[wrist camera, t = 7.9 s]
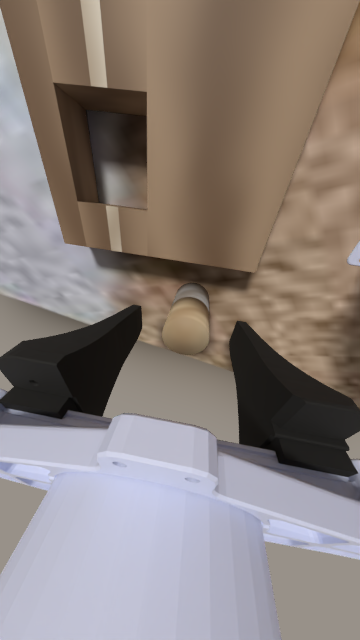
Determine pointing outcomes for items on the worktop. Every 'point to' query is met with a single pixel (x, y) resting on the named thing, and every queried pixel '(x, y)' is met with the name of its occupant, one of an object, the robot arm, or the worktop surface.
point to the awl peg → (188, 320)
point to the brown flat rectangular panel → (178, 112)
